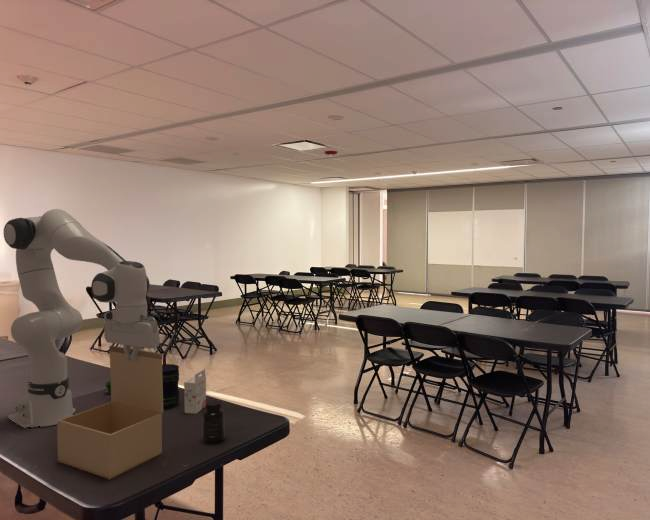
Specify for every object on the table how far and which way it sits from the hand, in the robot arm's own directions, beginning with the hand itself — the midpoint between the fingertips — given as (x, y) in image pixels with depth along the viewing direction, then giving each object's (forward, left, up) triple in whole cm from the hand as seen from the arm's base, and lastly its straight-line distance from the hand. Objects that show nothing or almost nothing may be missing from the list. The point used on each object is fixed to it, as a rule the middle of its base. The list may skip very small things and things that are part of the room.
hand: (131, 359), depth 144 cm
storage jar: (-19, +32, -28) cm, 47 cm away
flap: (0, +1, -6) cm, 6 cm away
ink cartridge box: (-6, +34, -28) cm, 45 cm away
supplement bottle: (+18, +16, -28) cm, 37 cm away
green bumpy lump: (-46, +32, -28) cm, 62 cm away
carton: (0, -8, -27) cm, 28 cm away
